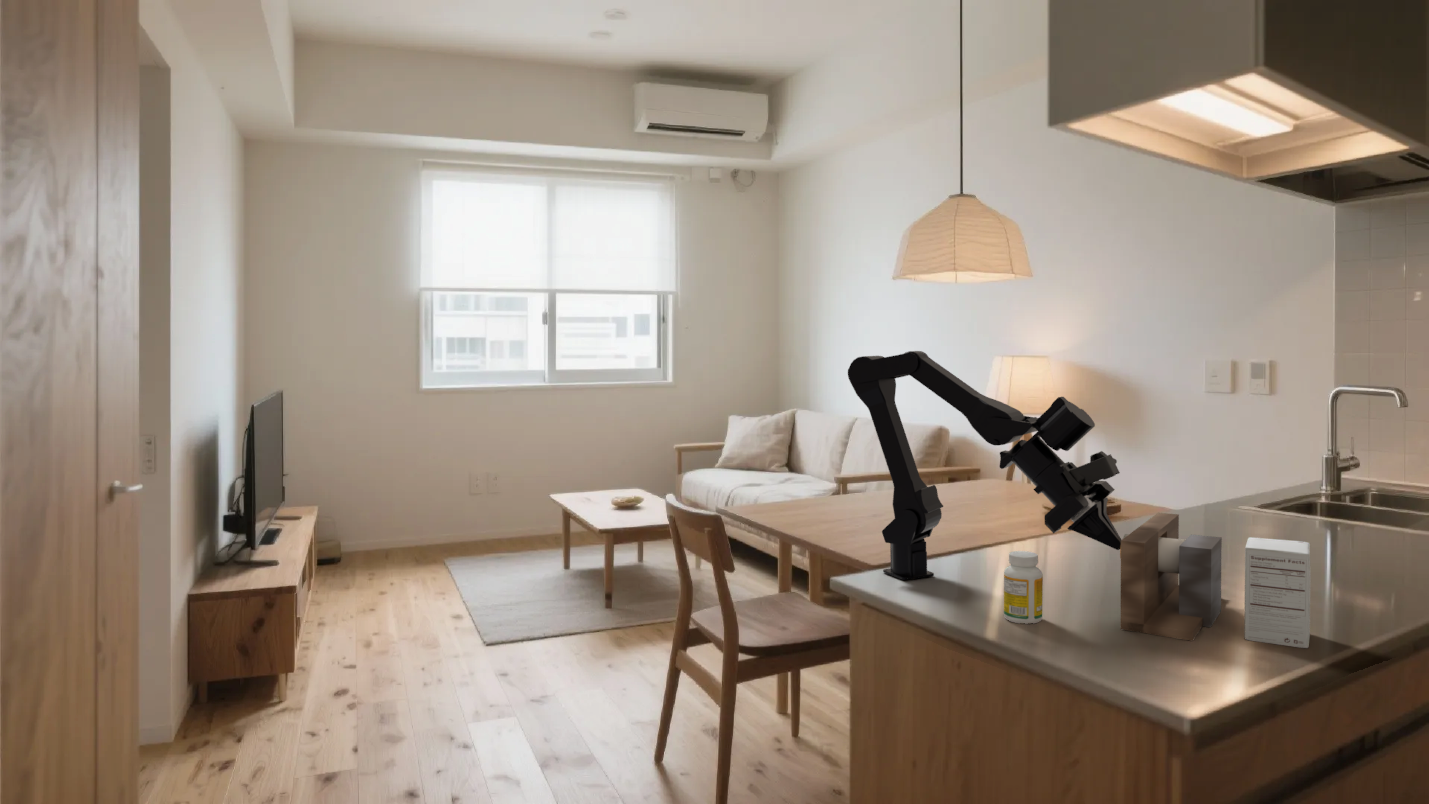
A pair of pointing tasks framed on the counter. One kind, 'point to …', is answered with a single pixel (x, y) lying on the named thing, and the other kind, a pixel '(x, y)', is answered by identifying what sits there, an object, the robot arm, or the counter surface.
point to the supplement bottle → (1023, 588)
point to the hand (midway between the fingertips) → (1121, 547)
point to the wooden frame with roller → (1169, 581)
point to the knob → (1167, 554)
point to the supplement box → (1277, 591)
